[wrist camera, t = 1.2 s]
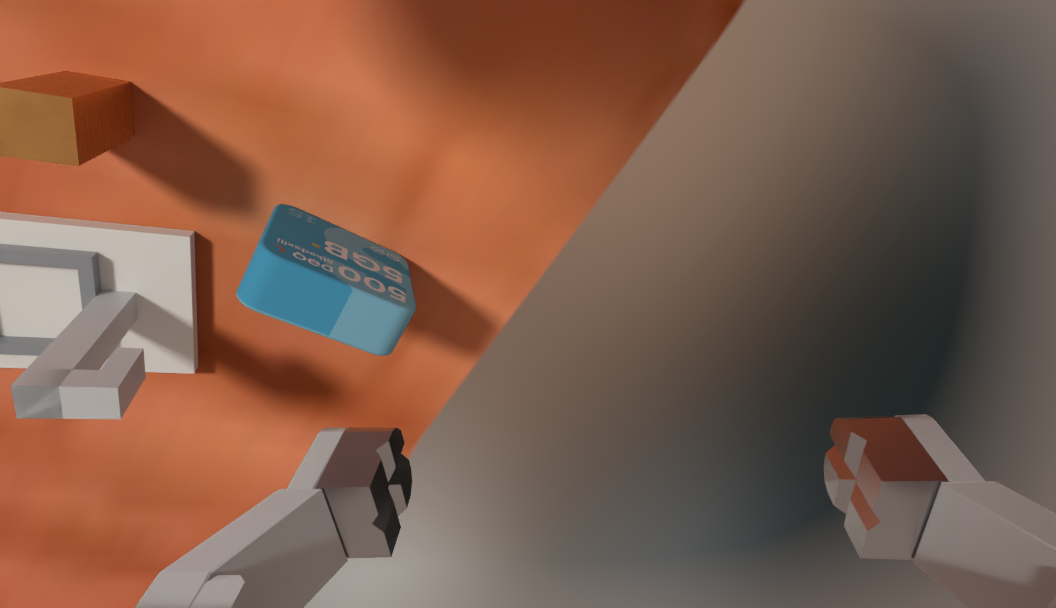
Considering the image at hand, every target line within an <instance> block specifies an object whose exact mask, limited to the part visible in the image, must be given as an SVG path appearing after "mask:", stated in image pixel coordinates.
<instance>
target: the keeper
mask: <svg viewBox="0 0 1056 608" xmlns="http://www.w3.org/2000/svg"><path fill="white" fill-rule="evenodd" d="M197 367H198V333H197V299H196V266H195V232H194V231H189V230H179V229H169V228H159V227H149V226H139V225H129V224H119V223H108V222H98V221H88V220H78V219H68V218H58V217H48V216H38V215H28V214H18V213H8V212H0V368H27V369H26V370H25V371H24V372H23V373H22V374H21V375H20V376H19V377H18V378H17V379H16V380H15V381H14V383H13V384H12V385H11V389H12V395H13V400H14V406H15V412H16V417H17V418H52V419H121V418H122V416H123V414H124V413H125V411H126V409H127V408H128V406H129V404H130V403H131V401H132V399H133V398H134V396H135V394H136V393H137V391H138V389H139V388H140V386H141V384H142V383H143V381H144V379H145V378H146V376H145V372H161V373H193V374H194V373H195V371H196V369H197Z"/></svg>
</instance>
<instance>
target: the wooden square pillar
mask: <svg viewBox="0 0 1056 608" xmlns="http://www.w3.org/2000/svg"><path fill="white" fill-rule="evenodd" d="M133 137H134V125H133V110H132V95H131V82H129V81H123V80H117V79H111V78H105V77H99V76H93V75H87V74H81V73H75V72H69V71H62V72H57V73H51V74H46V75H41V76H35V77H30V78H24V79H19V80H13V81H8V82H2V83H0V156H3V157H11V158H20V159H28V160H36V161H44V162H52V163H60V164H68V165H76V166H80V165H82V164H84V163H85V162H87V161H89V160H91V159H93V158H95V157H97V156H99V155H101V154H102V153H104V152H106V151H108V150H110V149H112V148H114V147H116V146H118V145H119V144H121V143H123V142H125V141H127V140H129V139H131V138H133Z"/></svg>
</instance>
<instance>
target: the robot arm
mask: <svg viewBox="0 0 1056 608" xmlns="http://www.w3.org/2000/svg"><path fill="white" fill-rule="evenodd" d="M830 436H831V438H832V439H833V441H834V443H835V446H834V447H832V448H831V449H830V450H829V451H828V452H827V453H826V455H825V461H824V479H825V484H826V488H827V491H828V494H829V496H830V498H831V500H832V502H833V505H834V506H835V507H837V508H838V509H840V510H841V511H842V512H844V513H845V514H847V515H846V519H845V523H844V527H845V529H846V531H847V533H848V535H849V537H850V539H851V541H852V543H853V545H854V547H855V549H856V551H857V553H858V555H859V557H860V558H877V559H913V562H914V563H915V564H916V565H917V566H918V567H920V568H921V569H922V570H923V571H924V572H925V573H927V574H928V575H929V576H930V577H931V578H933V579H934V580H935V581H936V582H937V583H938V584H940V585H941V586H942V587H943V588H944V589H946V590H947V591H948V592H949V593H950V594H951V595H953V596H954V597H955V598H956V599H957V600H959V601H960V602H961V603H962V604H963V605H964V606H966V607H967V608H1056V514H1055V513H1053V512H1051V511H1049V510H1048V509H1046V508H1044V507H1042V506H1040V505H1038V504H1036V503H1034V502H1033V501H1031V500H1028V499H1027V498H1025V497H1023V496H1021V495H1019V494H1017V493H1016V492H1014V491H1012V490H1010V489H1008V488H1006V487H1005V486H1003V485H1001V484H999V483H997V482H986V481H985V480H984V479H983V478H982V476H981V475H980V474H979V473H978V472H977V471H976V469H975V468H974V467H973V466H972V464H971V463H970V462H969V461H968V460H967V458H966V457H965V456H964V455H963V454H962V452H961V451H960V450H959V449H958V448H957V446H956V445H955V444H954V443H953V442H952V440H951V439H950V438H949V437H948V436H947V434H946V433H945V432H944V431H943V430H942V428H941V427H940V426H939V425H938V424H937V422H936V421H935V420H934V419H933V418H932V417H930V416H928V415H926V414H922V415H898V416H883V417H847V418H836V419H835V421H834V422H833V424H832V427H831V432H830ZM403 446H404V439H403V436H402V433H401V430H400V429H398V428H381V427H349V428H324V429H323V430H321V431H320V432H319V433H318V435H317V436H316V438H315V440H314V442H313V443H312V445H311V447H310V449H309V450H308V452H307V454H306V456H305V457H304V459H303V461H302V463H301V464H300V466H299V468H298V469H297V471H296V473H295V475H294V476H293V478H292V480H291V482H290V483H289V485H288V487H287V489H279V490H277V491H276V492H274V493H273V494H271V495H270V496H269V497H267V498H266V499H264V500H263V501H261V502H260V503H259V504H257V505H256V506H254V507H253V508H251V509H250V510H249V511H247V512H246V513H244V514H243V515H241V516H240V517H238V518H237V519H236V520H234V521H233V522H231V523H230V524H228V525H227V526H226V527H224V528H223V529H221V530H220V531H218V532H217V533H215V534H214V535H213V536H211V537H210V538H208V539H207V540H205V541H204V542H203V543H201V544H200V545H198V546H197V547H195V548H194V549H192V550H191V551H190V552H188V553H187V554H185V555H184V556H182V557H181V558H180V559H178V560H177V561H175V562H174V563H172V564H171V565H169V566H168V567H167V568H165V569H164V570H162V571H161V572H160V573H159V574H158V575H157V577H156V578H155V580H154V581H153V582H152V584H151V585H150V587H149V588H148V590H147V591H146V592H145V594H144V595H143V597H142V598H141V599H140V601H139V602H138V604H137V605H136V607H135V608H303V607H304V606H305V605H306V604H307V603H308V602H309V601H310V600H311V599H312V598H313V597H314V596H315V595H316V593H318V591H319V590H320V589H321V588H322V587H323V586H324V585H325V584H326V583H327V582H328V581H329V580H330V579H331V578H332V577H333V576H334V574H336V573H337V571H338V570H339V569H340V568H341V567H342V566H343V565H344V564H345V563H346V562H347V558H374V557H391V556H392V553H393V550H394V547H395V544H396V541H397V537H398V535H399V531H400V528H401V526H400V523H399V519H398V515H400V514H401V513H402V512H403V511H404V510H405V509H406V508H407V506H408V503H409V499H410V496H411V486H412V473H411V466H410V462H409V460H408V459H407V458H406V457H405V456H404V455H403V454H401V452H402V449H403Z"/></svg>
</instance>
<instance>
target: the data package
mask: <svg viewBox="0 0 1056 608" xmlns="http://www.w3.org/2000/svg"><path fill="white" fill-rule="evenodd" d="M237 298H238V299H239V301H240V302H241V303H242V304H243V305H245V306H246V307H248V308H249V309H251V310H254V311H256V312H259V313H261V314H264V315H267V316H270V317H273V318H275V319H278V320H281V321H284V322H286V323H289V324H292V325H295V326H297V327H300V328H303V329H306V330H308V331H311V332H314V333H317V334H319V335H322V336H325V337H328V338H331V339H333V340H336V341H339V342H342V343H344V344H347V345H350V346H353V347H355V348H358V349H361V350H364V351H366V352H369V353H372V354H375V355H380V356H385V355H389V354H391V353H392V351H393V350H394V348H395V346H396V344H397V343H398V341H399V339H400V337H401V335H402V334H403V332H404V330H405V328H406V327H407V325H408V323H409V321H410V319H411V318H412V316H413V314H414V312H415V311H416V302H415V297H414V292H413V287H412V282H411V276H410V271H409V266H408V263H407V261H406V260H405V259H404V258H403V257H401V256H400V255H399V254H397V253H395V252H393V251H391V250H389V249H387V248H384V247H382V246H380V245H378V244H376V243H373V242H371V241H369V240H367V239H364V238H362V237H360V236H358V235H356V234H353V233H351V232H349V231H347V230H344V229H342V228H340V227H338V226H336V225H333V224H331V223H329V222H327V221H324V220H322V219H320V218H318V217H316V216H313V215H311V214H309V213H307V212H304V211H302V210H300V209H298V208H295V207H293V206H289V205H284V204H279V205H277V206H276V207H275V208H274V210H273V213H272V215H271V217H270V219H269V221H268V224H267V226H266V228H265V230H264V232H263V234H262V237H261V239H260V241H259V243H258V245H257V248H256V250H255V252H254V254H253V256H252V259H251V261H250V263H249V265H248V267H247V270H246V272H245V274H244V276H243V279H242V281H241V283H240V285H239V287H238V290H237Z"/></svg>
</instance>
